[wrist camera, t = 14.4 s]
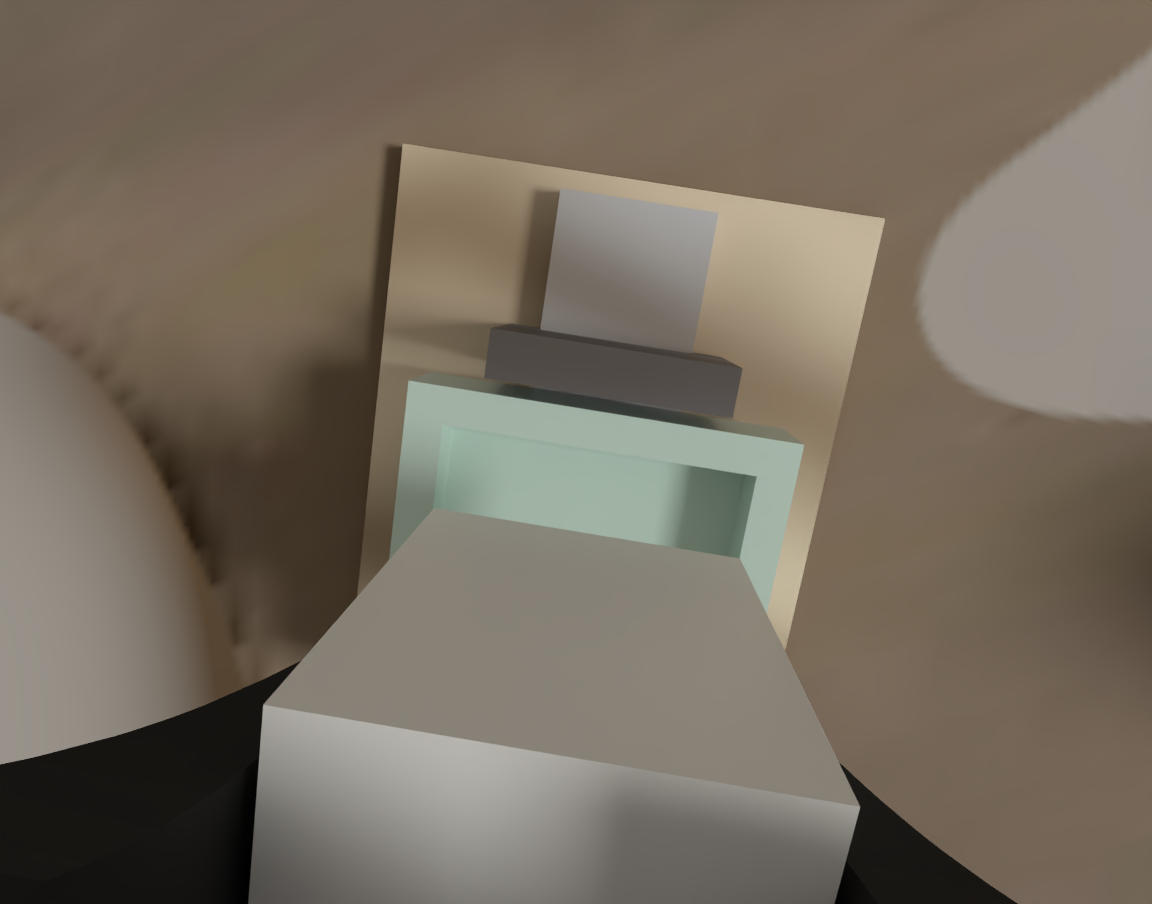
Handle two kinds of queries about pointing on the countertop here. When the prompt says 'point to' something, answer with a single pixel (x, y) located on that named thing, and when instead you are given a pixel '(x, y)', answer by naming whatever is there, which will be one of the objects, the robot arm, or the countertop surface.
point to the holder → (596, 469)
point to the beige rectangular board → (621, 310)
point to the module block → (547, 735)
